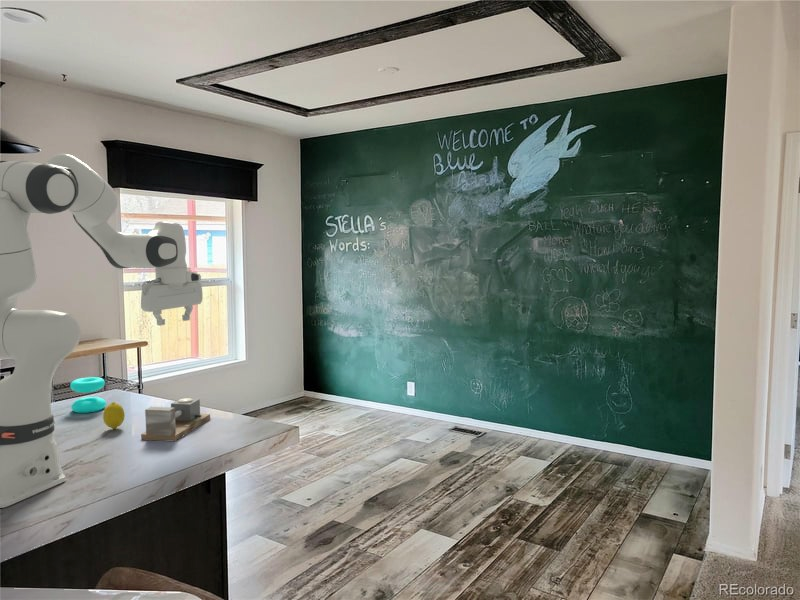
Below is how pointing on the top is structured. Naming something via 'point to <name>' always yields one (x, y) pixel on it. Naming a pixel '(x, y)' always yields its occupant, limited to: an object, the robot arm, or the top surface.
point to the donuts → (89, 402)
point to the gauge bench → (178, 429)
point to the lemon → (113, 415)
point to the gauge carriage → (186, 409)
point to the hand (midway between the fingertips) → (173, 322)
